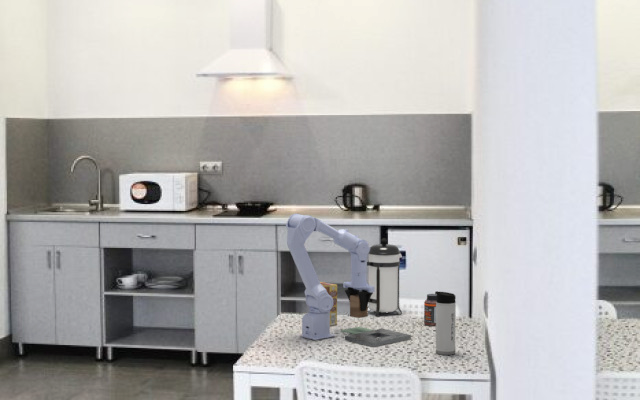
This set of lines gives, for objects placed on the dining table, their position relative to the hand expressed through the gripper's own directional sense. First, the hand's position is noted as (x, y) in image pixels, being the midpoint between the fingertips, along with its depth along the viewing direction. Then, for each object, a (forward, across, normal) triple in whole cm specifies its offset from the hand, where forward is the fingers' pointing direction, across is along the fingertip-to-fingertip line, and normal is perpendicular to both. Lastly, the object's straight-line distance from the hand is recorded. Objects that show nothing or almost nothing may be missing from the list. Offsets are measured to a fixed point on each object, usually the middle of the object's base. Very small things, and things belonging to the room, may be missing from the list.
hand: (358, 309), depth 325 cm
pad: (+8, 0, 0) cm, 8 cm away
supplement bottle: (+8, -9, -29) cm, 31 cm away
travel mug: (+8, -42, +1) cm, 43 cm away
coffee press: (+8, +18, -29) cm, 35 cm away
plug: (+2, 0, 0) cm, 2 cm away
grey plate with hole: (+8, -14, +4) cm, 17 cm away
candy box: (+8, +18, 0) cm, 20 cm away
